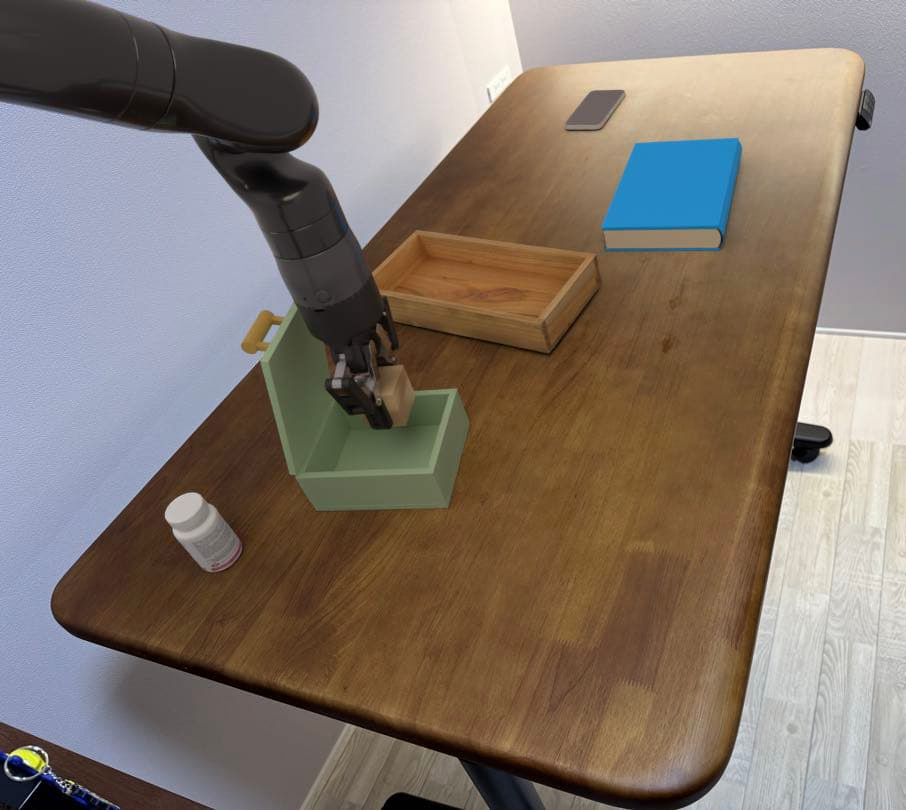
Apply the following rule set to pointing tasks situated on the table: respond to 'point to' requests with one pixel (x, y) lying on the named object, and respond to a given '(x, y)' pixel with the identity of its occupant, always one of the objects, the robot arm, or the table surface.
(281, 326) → the cover
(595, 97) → the smartphone
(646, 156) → the book
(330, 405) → the green box
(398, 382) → the block
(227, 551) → the pill bottle
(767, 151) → the table surface
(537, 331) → the tray
